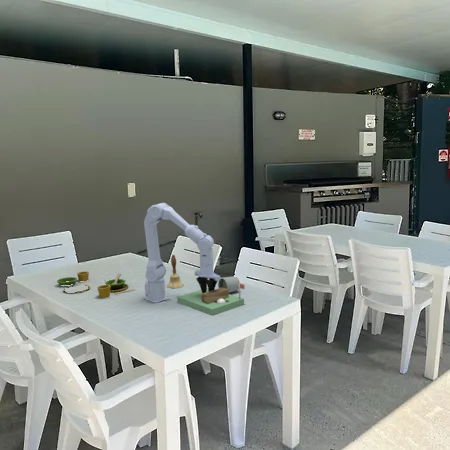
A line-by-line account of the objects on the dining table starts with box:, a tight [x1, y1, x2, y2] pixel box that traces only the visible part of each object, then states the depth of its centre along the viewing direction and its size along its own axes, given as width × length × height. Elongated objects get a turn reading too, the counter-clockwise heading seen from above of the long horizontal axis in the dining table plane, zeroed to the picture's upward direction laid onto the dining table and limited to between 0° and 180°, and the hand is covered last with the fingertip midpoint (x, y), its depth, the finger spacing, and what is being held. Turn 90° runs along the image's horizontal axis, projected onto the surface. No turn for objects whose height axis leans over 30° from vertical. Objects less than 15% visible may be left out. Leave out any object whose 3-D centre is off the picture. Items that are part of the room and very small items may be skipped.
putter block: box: [201, 287, 230, 304], centre depth 190 cm, size 4×12×4 cm, turn 132°
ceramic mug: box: [217, 276, 241, 294], centre depth 209 cm, size 11×8×8 cm
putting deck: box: [176, 283, 246, 316], centre depth 192 cm, size 26×18×10 cm
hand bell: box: [166, 254, 184, 289], centre depth 220 cm, size 8×8×16 cm
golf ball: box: [217, 298, 226, 304], centre depth 188 cm, size 4×4×4 cm
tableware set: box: [56, 270, 136, 299], centre depth 222 cm, size 41×28×6 cm
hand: (207, 293), depth 194 cm, fingers open, 4 cm apart
